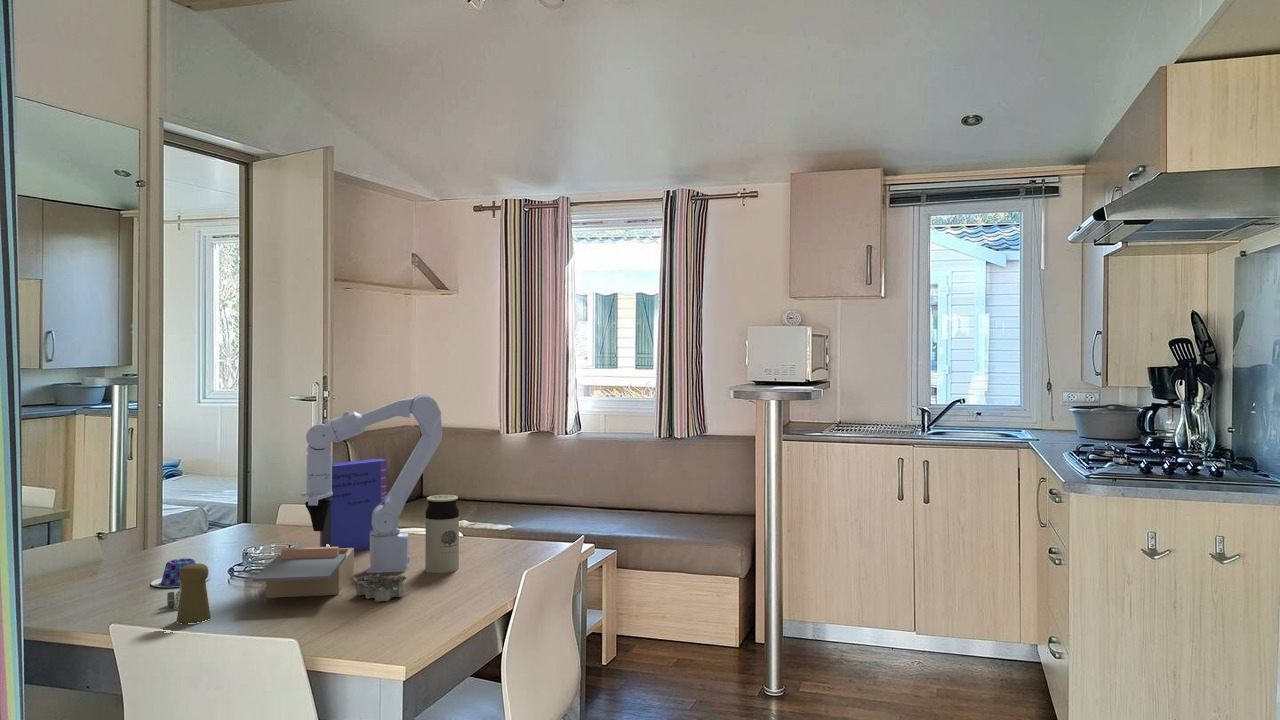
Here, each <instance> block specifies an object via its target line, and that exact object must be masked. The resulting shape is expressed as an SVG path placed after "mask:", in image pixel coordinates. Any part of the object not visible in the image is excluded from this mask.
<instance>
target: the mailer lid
mask: <svg viewBox="0 0 1280 720" xmlns="http://www.w3.org/2000/svg"><path fill="white" fill-rule="evenodd" d="M280 551H281V554H280V555H279V556H278V555H277V556H276V557H275V558H274V559H273V560H272V561H270V562H269V563H268V564H267V565H266V566H264V568H262V570H261V571H259V573H257V574H256V575H255V576H254V577H253V578H252V582H266V581H281V580H309V579H330V578H331V576H332V575H333V574H334V572H335V571H336V570H337V568H338V567H339V566H340V564H341V563H342V562H343V560H344V559H345V558H346V554H339V547H320V546H317V547H313V546H312V547H285V548H284V547H283V548H281V550H280Z"/></svg>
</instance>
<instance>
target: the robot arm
mask: <svg viewBox="0 0 1280 720" xmlns="http://www.w3.org/2000/svg"><path fill="white" fill-rule="evenodd" d="M411 414H412V416H413V418H414V419H415V420H416V422H417V423H418V426H419V427H418V428H419V430H420V432H421V436H420V438H419V440H418V442H417V443H416V445H415V448H414V449H413V451H412V452H411V454H410V456H409V457H408V459H407V460H406V463H405V465H404V466H403V468H402V470H401V471H400V473H399V475H398V476H397V478H396V480H395V482H394V483H393V485H392V487H391V488H390V490H389V491H388V493H386V497H385V499H384V500H383V502H382V503H381V504H379V505H377V506H376V507H375V508H374V510H373V512H372V527H373V530H371V531H370V548H369V565H368V566H367V568H366V570H365V573H366V574H380V573H381V574H382V573H401V572H402V573H405V572H407V571H408V568H409V566H410V563H411V555H410V533H409V532H401V529H400V528H399V522H400V516H401V513H402V512H403V510H404V508H405V505H406V502H407V500H408V499H409V497H410V495H411V493H412V492H413V490H414V488H415V487H416V485H417V483H418V481H419V480H420V478H421V476H422V474H423V473H424V471H425V469H426V467H427V466H428V465H429V462H430V461H431V459H432V457H433V456H434V454H435V452H436V450H437V448H438V447H439V445H440V443H441V441H442V439H443V426H442V424H443V423H442V412H441V410H440V408H439V404H438V403H437V401H436V400H435V399H434V398H433V397H431V396H430V395H427V394H419V395H417V396H415V397H412V396H411V397H407V398H403V399H398V400H396V401H393V402H391V403H390V402H389V403H388V404H386V405H383V406H380V407H378V408H375V409H373V410H370V411H367V412H364V413H362V414H360V413H359V412H357V411H352V412H350V411H349V410H347V411H344V412H343V415H341V416H338V417H335V418H332V419H328V418H326V419H324V420H323V423H318V424H317V423H316V424H314V425H312V426H311V427H310V428H309V429H308V431H307V432H306V436H305V439H306V443H307V449H306V451H307V455H306V491H304V492H301V494H300V496H301V497H306V499H308V501H306V502H305V503H304V505H305V508H306V509H307V511H308V514H309V516H310V520H311V526H312V529H313V532H320V531H323V530H324V528H325V524H326V519H327V514H328V511H329V508H330V506H331V504H332V502H333V500H332V499H325V498H326V497H330V496H332V495H333V492H332V464H333V455H332V444H331V443H340V442H343V441H345V440H348V439H350V438H354V437H356V436H359V435H362V434H363V433H364V431H365V428H366V427H368V426H372V425H374V424H377V423H380V422H383V421H387V420H390V419H392V418H395V417H402V418H408V419H409V418H411Z"/></svg>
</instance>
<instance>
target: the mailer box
mask: <svg viewBox="0 0 1280 720" xmlns="http://www.w3.org/2000/svg"><path fill="white" fill-rule="evenodd" d="M339 554H346V558H345V559H344V560H343V562H342V563H341V564H340V566H339V567H338V568H337V570H336V571H335V572H334V574H333V575H332V576H331V578H330V579H309V580H281V581H265V583H266V584H265V589H266V590H265V598H267V599H271V598H292V597H313V596H316V597H318V596H331V595H332V596H338V595H340V593H341V592H342V591H343V589H344V587H345V586H346V584H347V583H348V582H349V579H350V578H351V577H352V575H353V574H354V572H355V551H354V548H339Z"/></svg>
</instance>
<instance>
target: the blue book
mask: <svg viewBox="0 0 1280 720" xmlns="http://www.w3.org/2000/svg"><path fill="white" fill-rule="evenodd" d="M332 492H333V495H332V496H330V497H326V498H325V499H332V500H333V502H332V504H331V506H330V508H329V511H328V514H327V519H326V524H325V528H324V530H323V531H319V547H326V544H329V545H330V547H339V548H354V552H358V551H363V550H367V549H368V550H369V549H370V531H371V530H373V527H372V512H373V510H374V508H375V507H376V506H377V505H379V504H381V503H382V502H383V500H384V499H385V497H386V496H387V460H386V459H384V458H370V459H362V460H361V459H360V460H353V461H345V462H344V461H343V462H342V461H341V462H334V463H333V462H332Z"/></svg>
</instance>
